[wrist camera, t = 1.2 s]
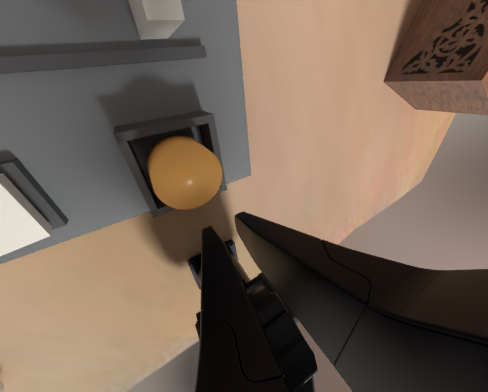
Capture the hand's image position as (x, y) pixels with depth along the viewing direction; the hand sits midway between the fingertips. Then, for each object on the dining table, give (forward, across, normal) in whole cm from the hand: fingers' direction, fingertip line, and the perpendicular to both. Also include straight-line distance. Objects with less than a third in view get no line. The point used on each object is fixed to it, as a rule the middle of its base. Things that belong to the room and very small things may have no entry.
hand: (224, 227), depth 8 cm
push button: (+8, 0, 0) cm, 8 cm away
